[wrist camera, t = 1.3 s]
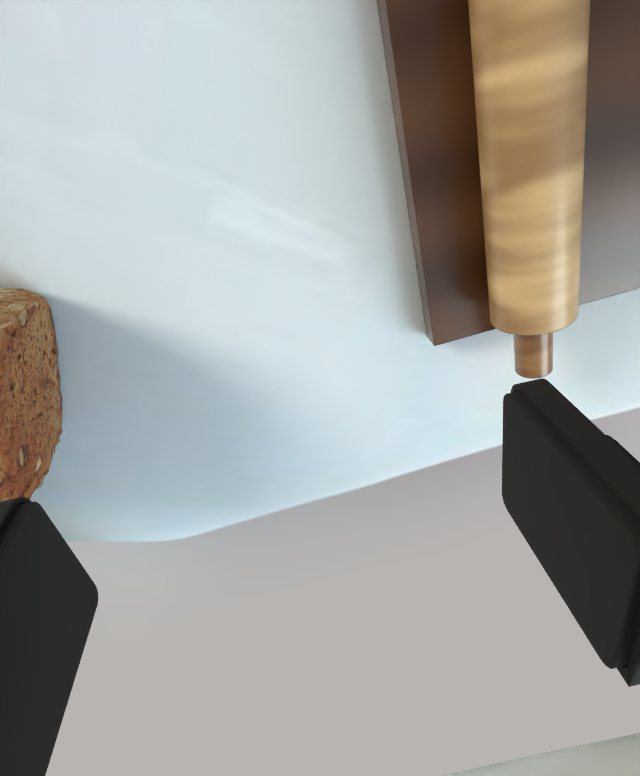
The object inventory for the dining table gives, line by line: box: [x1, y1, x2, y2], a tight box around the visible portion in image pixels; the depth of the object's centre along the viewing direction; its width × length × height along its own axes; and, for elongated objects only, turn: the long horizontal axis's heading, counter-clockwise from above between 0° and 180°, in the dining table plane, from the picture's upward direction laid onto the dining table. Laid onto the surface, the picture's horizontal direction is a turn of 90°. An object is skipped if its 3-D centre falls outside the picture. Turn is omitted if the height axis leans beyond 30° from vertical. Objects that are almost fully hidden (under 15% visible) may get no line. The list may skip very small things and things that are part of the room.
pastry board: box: [377, 0, 640, 346], centre depth 25 cm, size 18×24×2 cm
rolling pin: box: [468, 0, 590, 378], centre depth 23 cm, size 22×4×4 cm, turn 14°
